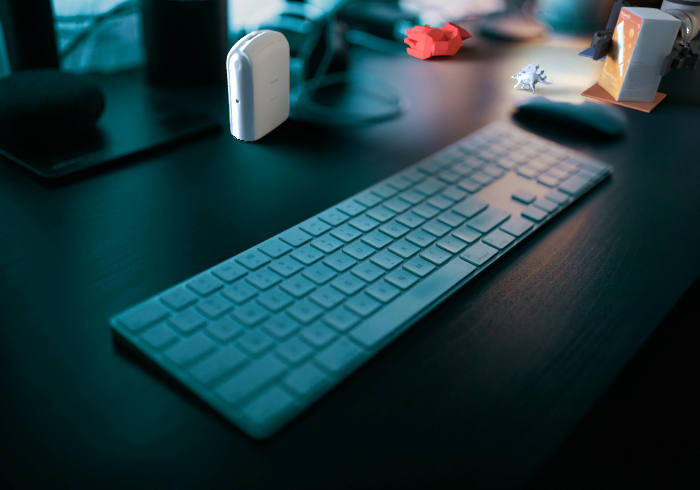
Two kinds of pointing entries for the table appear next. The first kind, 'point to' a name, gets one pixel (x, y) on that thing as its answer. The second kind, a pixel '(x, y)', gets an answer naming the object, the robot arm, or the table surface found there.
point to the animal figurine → (435, 40)
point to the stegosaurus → (531, 77)
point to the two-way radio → (616, 13)
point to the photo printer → (258, 84)
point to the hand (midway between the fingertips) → (629, 59)
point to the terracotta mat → (602, 94)
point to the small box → (638, 53)
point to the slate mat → (590, 53)
